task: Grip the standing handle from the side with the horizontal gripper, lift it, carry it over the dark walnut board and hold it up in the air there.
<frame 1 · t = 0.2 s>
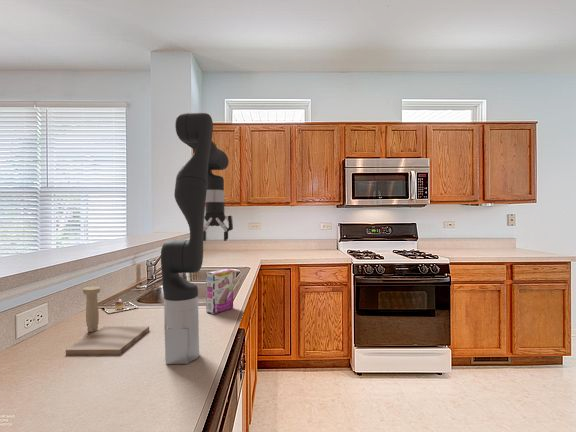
hand: (215, 240, 142), 29 cm above the counter, tool pointing down, fingers open, 8 cm apart
candy bar box: (220, 310, 144), on the counter
handle: (92, 331, 121), on the counter
walnut board: (111, 341, 111), on the counter
dessert: (119, 310, 149), on the counter
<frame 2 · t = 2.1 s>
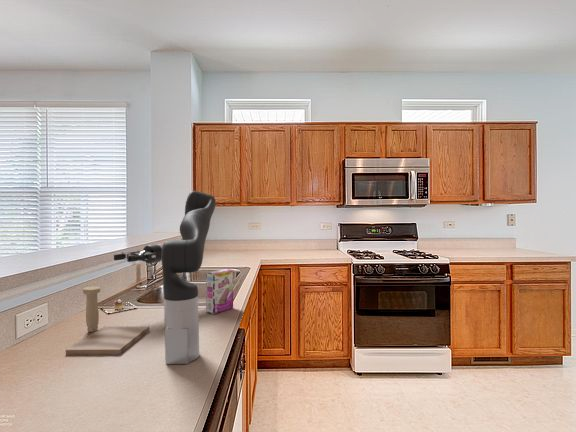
hand: (120, 258, 130), 24 cm above the counter, tool horizontal, fingers open, 8 cm apart
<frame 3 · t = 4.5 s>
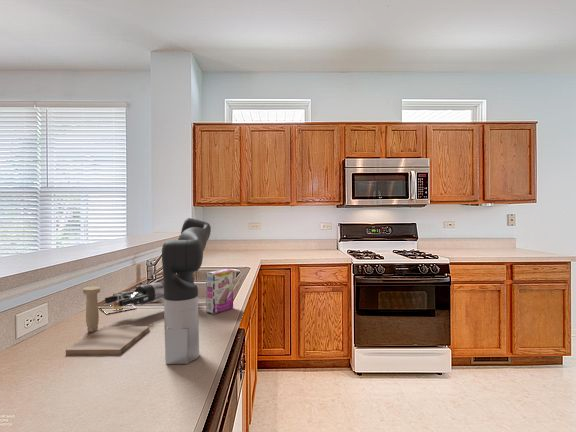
hand: (112, 302, 127), 8 cm above the counter, tool horizontal, fingers open, 8 cm apart
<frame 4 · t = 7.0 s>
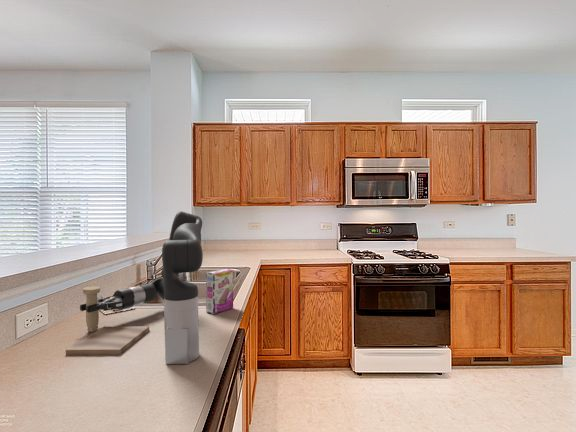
hand: (84, 308, 119), 9 cm above the counter, tool horizontal, fingers closed on handle, 3 cm apart
handle: (92, 331, 121), on the counter, touching gripper
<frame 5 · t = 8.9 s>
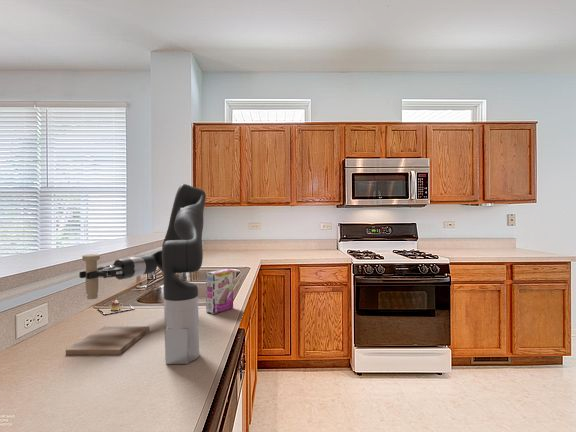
hand: (83, 275, 117), 20 cm above the counter, tool horizontal, fingers closed on handle, 3 cm apart
handle: (92, 299, 120), point 11 cm above the counter, touching gripper
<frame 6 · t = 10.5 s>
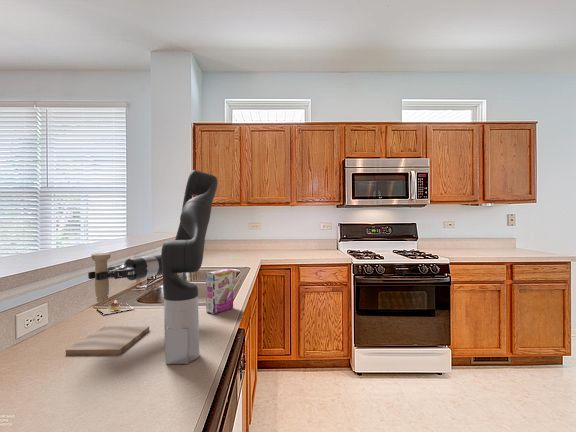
hand: (92, 276, 107), 22 cm above the counter, tool horizontal, fingers closed on handle, 3 cm apart
handle: (102, 302, 110), point 13 cm above the counter, touching gripper
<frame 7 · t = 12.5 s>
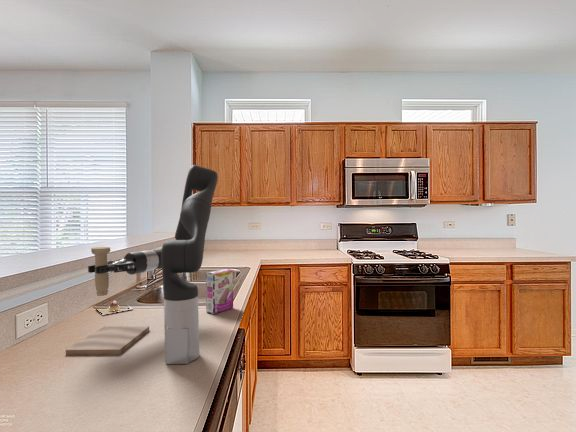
hand: (92, 269, 107), 24 cm above the counter, tool horizontal, fingers closed on handle, 3 cm apart
handle: (102, 295, 110), point 15 cm above the counter, touching gripper
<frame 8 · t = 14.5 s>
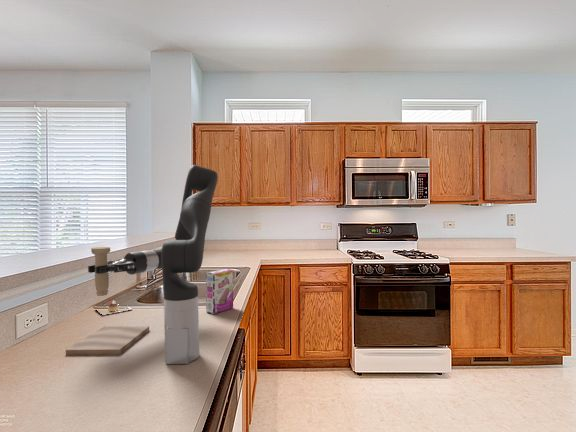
hand: (92, 269, 107), 24 cm above the counter, tool horizontal, fingers closed on handle, 3 cm apart
handle: (102, 295, 110), point 15 cm above the counter, touching gripper
at the end: the gripper is holding handle; handle inside the target area (2.2 cm from its centre), point 15.0 cm above the counter; handle touching gripper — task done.
